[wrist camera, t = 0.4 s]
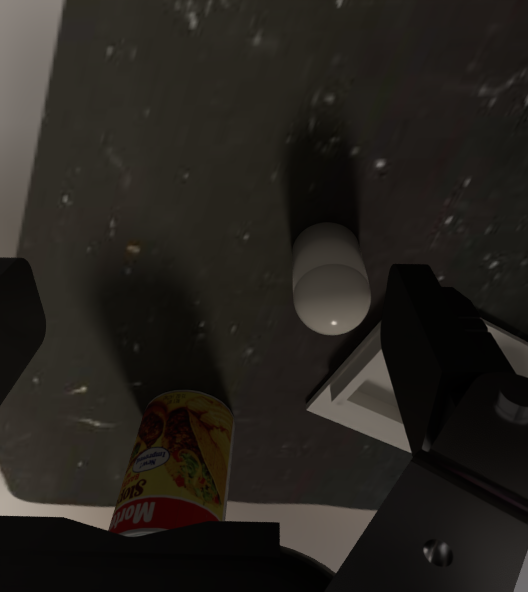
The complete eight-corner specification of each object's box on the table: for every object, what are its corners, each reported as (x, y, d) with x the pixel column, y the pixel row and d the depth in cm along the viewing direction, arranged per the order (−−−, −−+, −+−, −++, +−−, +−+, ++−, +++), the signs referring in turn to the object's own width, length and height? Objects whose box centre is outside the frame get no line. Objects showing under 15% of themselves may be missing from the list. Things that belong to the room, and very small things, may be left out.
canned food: (151, 379, 39) (107, 522, 29) (245, 401, 40) (232, 545, 30) (138, 439, 44) (96, 579, 34) (223, 456, 45) (206, 598, 35)
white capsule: (315, 210, 30) (322, 273, 24) (373, 241, 31) (393, 308, 25) (279, 262, 32) (278, 331, 26) (335, 290, 33) (345, 361, 28)
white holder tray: (414, 283, 33) (421, 302, 31) (590, 375, 37) (606, 396, 35) (306, 404, 40) (307, 425, 38) (464, 469, 44) (471, 491, 43)
